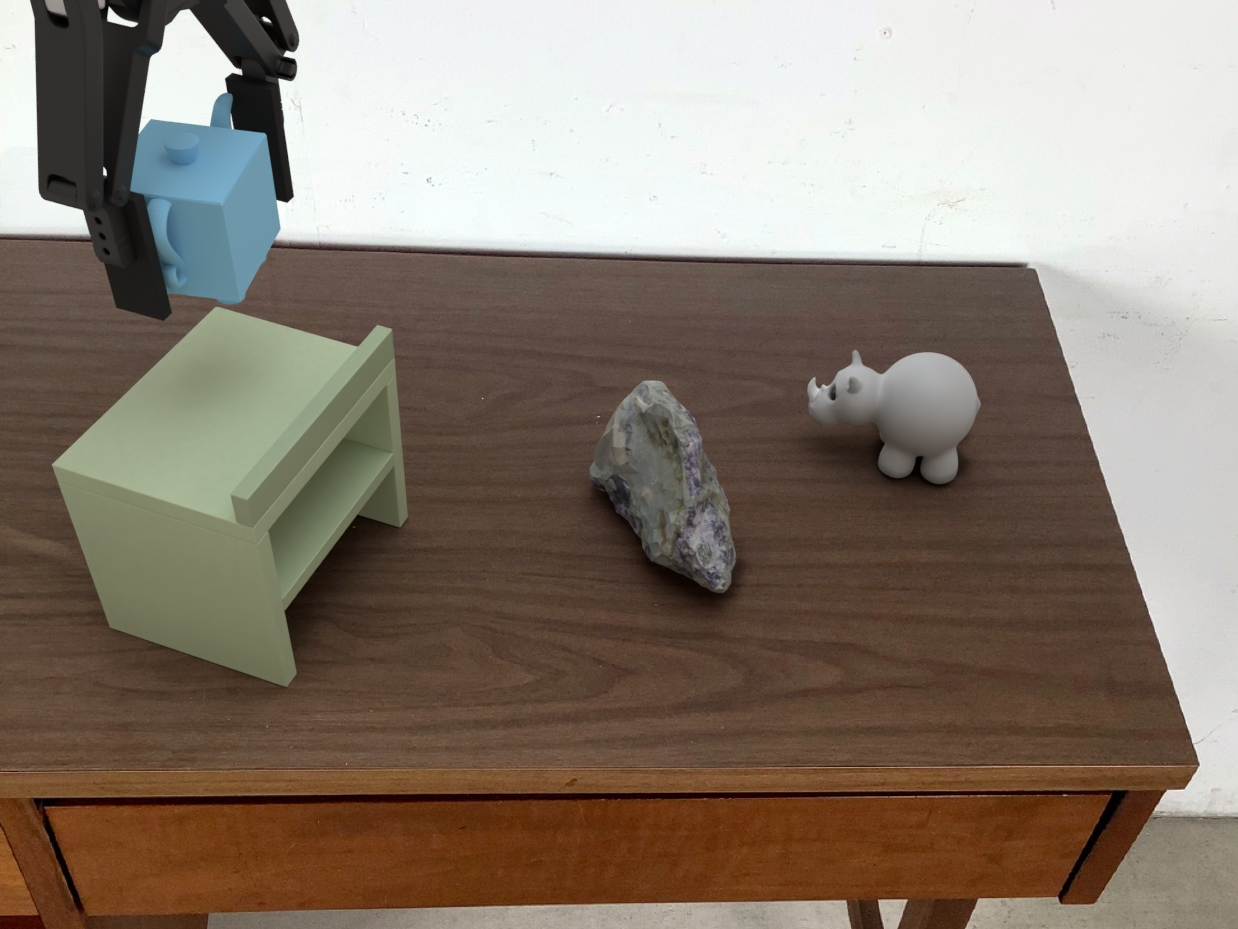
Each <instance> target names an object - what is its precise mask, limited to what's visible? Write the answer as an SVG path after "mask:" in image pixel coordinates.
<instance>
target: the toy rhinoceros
mask: <svg viewBox="0 0 1238 929" xmlns="http://www.w3.org/2000/svg"><path fill="white" fill-rule="evenodd" d="M816 379H817V378H816V376H814V377H813V378H812V379H811V380H810V381H809V383H808V385H807V388H806V389H807V390H806V392H807V396H808V405H807V410H808V414H809V416H810V418H811V419H812V421H813V422H814V423H816V424H817V425H819V426H821V427H834V426H836V425H839V424H846V425H849V426H852V427H853V426H855V427H860V426H864V425H868V424H873V425H875V426H876V428H877V429H878V431H879V437H880V438H879V439H880V440H881V441H882V443H883V444H884V445H883V446H882V449H881V451H880V453H879V456H878V459H877V466H878V468H879V471H881V472H882V473H883V474H884V475H886V476H887V477H890V478H893V479H902V478H905V477H908V476H909V475H910V474H911V473H912V472H913V470H914V467H915V465H916V459H917V457H922V459H921V461H920V474H921V476H922V477H923V478H924V480H926V481H928V482H929V483H931V484H935V485H943V484H947V483H949V482H951V481H953V480H954V479H955V477H956V475H957V473H958V470H959V455H958V451H957V447H958V445H959V443H960V442H962V441H963V440H964V439H965V438H966V436H967V435H968V434H969V432H970V431H971V429H972V427H973V425H974V423H975V420H976V417H977V414H978V412H979V411H980V409H981V405H982V404H981V399H980V398H979V396H978V392H977V388H976V385H975V382H974V380H973V378H972V377H971V375H970V373H969V371H968V370H967V369H966V368H965V367H964V366H963V365H962V364H961V363H960V362H958V361H957V360H955V359H954V358H952V357H950V356H948V355H945V354H942V353H938V352H932V351H931V352H930V351H928V352H926V351H924V352H917V353H913V354H909V355H907V356H904V357H902V358H901V359H899V360H898V361H896V362H895V363H893V364H892V365H891V366H889V368H888V369H887V370H886V371H885V372H884V373H878V372H876V371H875V370H874V369H872V368H871V367H869V366H865V365H864V364H863V362H862V358H861V354H860V352H859V351H858V350H856V349H855V350H853V351H852V353H851V364H850V365H848V366H847V367H844V368H843V369H840V370H839V371H838V372H837V373H836V375H835V377H834V379H833V380H832V381H831V383H830V384H828V385H825V384H822V385H821V387H818V386H817V384H816Z"/></svg>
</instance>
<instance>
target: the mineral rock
mask: <svg viewBox="0 0 1238 929" xmlns="http://www.w3.org/2000/svg"><path fill="white" fill-rule="evenodd" d="M717 476H718V472H717V470H716V468H715V467H714V466H713V464H712V463H711V462H710V459H709V457H708V454H707V453H706V452H705V448H704V445H703V437H702V435H701V434H700V431H699V427H698V425H697V422H696V418H695V417H694V416H693V415H692V414H691V412H690V410H689V409H688V408H686V407H685V406H684V405H683V404H682V403H680V402H679V401H678V400H677V399H676V398H675V395H673V393H672V392H671V390H670V389H669V388H668V387H667V385H666V384H665V383H664V382H663V381H661V380H642V381H641V382H640V383H639V384H638V385H637V386H636V387H635V388H634V389H633V390H632V392H630V393H629V394H628V395H627V396H625V398H624V399H623V400H622V401H621V403H620V404H619V405H618V406H617V408H616V409H615V410H614V412H613V413H612V414H611V417H610V419H609V421H608V422H607V425H606V427H605V429H604V432H603V434H602V436H601V438H600V439H599V441H598V442H597V444H596V446H595V448H594V452H593V462H592V464H591V465H590V467H589V481H590V484H591V486H593V488H595V489H596V490H600V491H601V492H604V493H607V495H608V496H609V500H610V501H611V502H612V504H613V506H614V509H615V512H616V513H617V514H619V515H620V516H621V517H622V518H624V519H625V520H626V521H627V522H628V523H629V525H630V526H631V528H632V529H633V532H634V534H636V535H637V536H638V537H639V538H640V539H641V544H642V546H641V547H642V549H643V551H644V553H645V555H646V557H647V558H648V559H649V560H650V561H651V562H653V563H655V564H657V565H660V566H662V567H665V568H667V569H670V570H672V571H673V572H676V573H678V574H681V575H683V576H684V577H687V578H688V579H690V580H692V581H694V582H696V583H698V585H699V586H701V587H704V588H706V589H708V590H709V591H711V592H714V593H716V594H724V593H725V592H726V591H728V588H730V586H731V584H732V578H733V577H732V571H733V570H734V567H735V565H736V562H737V552H736V548H735V543H734V541H733V538H732V537H733V536H732V533H731V532H732V531H731V524H730V512H731V507H730V505H729V501H728V497H727V496H726V493H725V491H724V488H723V487H722V486H721V485H720V484H719V483H720V482H719V480H718V477H717Z"/></svg>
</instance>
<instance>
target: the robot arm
mask: <svg viewBox="0 0 1238 929" xmlns="http://www.w3.org/2000/svg"><path fill="white" fill-rule="evenodd" d="M29 2H30V7H31V10H32V14H33V19H34V20H33V21H34V58H35V59H34V61H35V101H36V102H35V104H36V105H35V107H36V108H35V109H36V144H37V145H36V146H37V147H36V148H37V186H38V193H39V195H40V197H41V199H43V200H44V201H47V202H51V203H55V204H57V205H61V206H65V207H69V208H73V209H76V210H80V211H82V212H83V216H84V220H85V224H86V227H87V231H88V235H89V236H90V240H91V243H92V247H93V251H94V255H95V256H96V258H97V259H98V260H99V262H100V263H103V265H104V268H105V272H106V275H107V279H108V282H109V283H108V284H109V286H110V290H111V295H112V298H113V301H114V304H115V308H116V309H119V310H122V311H126V312H129V313H133V314H135V315H137V314H138V315H140V316H144V317H148V318H151V319H155V320H158V321H161V322H164V321H165V320H166V319H168V318H169V317H170V316H171V315H172V314H173V311H172V306H171V303H170V298H169V294H167V290H166V286H165V281H164V277H163V273H162V269H161V265H160V260H159V256H158V252H157V248H156V244H155V239H154V235H153V231H152V227H151V223H150V219H149V214H148V210H147V206H146V202H145V198H144V194H140V193H136V192H132V191H130V188H131V181H132V175H133V168H134V161H135V155H136V148H137V142H138V135H139V133H140V127H141V121H142V114H143V109H144V108H143V107H144V102H145V101H144V100H145V96H146V95H145V94H146V89H147V82H148V75H149V67H150V62H151V59H152V56H154V55H156V54H158V53H159V52H160V51H161V50H162V47H163V44H164V36H165V30H166V26H168V25H169V24H171V23H172V22H173V21H175V20H174V19H175V18H176V17H177V16H178V15H179V13H180V12H182V11H186V10H189V11H190V12H191V13H192V15H193V16H194V17H195V19H196V20H197V21H198V23H200V25H201V27H203V29H204V30H205V31H206V32H207V34H208V35H209V36H210V38H211V39H212V40H213V42H215V44H216V46H217V47H218V48H219V49H220V51H221V52H222V53H223V54H224V56H225V57H226V58H227V60H228V61H229V62H230V63H231V64H232V66H233V67H234V68H235V69H237V70H241V74H239V73H236V72H231V73H230V74H228V75H227V76H226V77H224V83H225V88H226V93H229V94H232V96H233V101H232V107H231V124H232V129H235V130H242V131H250V132H258V133H265V134H266V136H267V142H268V149H269V155H270V162H271V168H272V175H273V181H274V188H275V194H276V201H278V202H283V203H286V204H288V203H289V202H290V201H291V200H292V199H293V198H295V193H294V187H293V180H292V174H291V164H290V159H289V158H290V157H289V152H288V144H287V137H286V130H285V116H284V109H283V102H282V94H281V88H280V87H281V86H280V80H283V81H287V82H293V81H294V80H295V79H296V76H297V74H298V63H297V60H296V58H294V57H289V56H285V54H286V52H290V53H295V52H296V51H297V50H298V48H299V46H300V34H299V30H298V27H297V25H296V23H295V20H294V18H293V15H292V12H291V10H290V7H289V4H288V2H287V0H29ZM109 9H110V10H111V11H112V12H113V13H114V14H115V15H116V16H117V17H119V18H120V19H122V20H124V21H127V22H131V23H135V24H136V25H134V26H129V25H125V24H120V23H117V22H113V21H109V20H108V15H109ZM264 18H266V19H267V20H269V21H266V20H264ZM104 169H105V171H106V172H105V173H106V175H105V174H104Z"/></svg>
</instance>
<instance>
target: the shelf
mask: <svg viewBox="0 0 1238 929" xmlns="http://www.w3.org/2000/svg"><path fill="white" fill-rule="evenodd" d="M393 334H394V333H393V329H392V328H390V327H386V326H382V325H379V324H377V325H376V326H374V328H373V329H372V330H371V332H369V334H368V335H367V336H366V337H365V338H364V340H362V342H361V343H360V344H359V345H358V346H356V345H353V344H349V343H346V342H342V341H339V340H334V339H331V338H327V337H324V336H321V335H318V334H314V333H311V332H308V331H303V330H300V329H297V328H292V327H289V326H287V325H283V324H279V323H277V322H276V323H275V322H272V321H270V320H269V321H268V320H265V319H261V318H258V317H254V316H251V315H247V314H243V313H241V312H237V311H234V310H230V309H226V308H223V307H220V306H215V307H214V308H212V309H211V310H210V312H208V313H207V314H206V315H205V316H204V317H203V318H202V319H201V320H200V321H199V322H198V323H197V324H196V325H195V326H194V327H193V328H192V329H191V330H190V331H189V332H188V333H187V334H186V335H185V336H184V337H182V338H181V340H179V341H178V343H176V344H175V345H174V346H173V347H172V348H171V349H170V350H169V351H168V352H167V353H166V354H165V355H164V356H163V357H162V358H161V359H160V360H159V361H158V362H156V364H154V366H152V367H151V369H149V370H148V372H146V373H145V374H144V375H143V376H142V377H141V378H140V379H139V380H138V381H137V382H136V383H135V384H133V385H132V386H131V387H130V389H128V390H127V392H126V393H125V394H123V395H122V396H121V397H120V398H119V399H118V400H117V401H116V402H115V403H114V404H113V405H112V406H111V407H110V408H109V409H108V410H107V411H106V412H105V413H104V414H103V415H101V416H100V417H99V418H98V419H97V420H96V422H94V423H93V424H92V425H91V426H90V427H89V428H88V429H87V430H86V431H85V432H84V433H83V434H82V435H81V436H80V437H79V438H77V439H76V441H75V442H74V443H72V444H71V445H70V446H69V447H68V448H67V449H66V450H65V451H64V452H63V453H62V454H61V455H60V456H59V457H58V458H57V459H56V460H55V461H54V462H53V463H52V464H51V466H52V469H53V472H54V475H55V478H56V481H57V484H58V486H59V490H60V492H61V495H62V497H63V501H64V504H65V506H66V509H67V512H68V514H69V517H70V520H71V523H72V526H73V528H74V532H75V534H76V536H77V537H76V538H77V540H78V542H79V545H80V548H81V551H82V553H83V556H84V559H85V562H86V564H87V567H88V570H89V573H90V576H91V579H92V580H93V582H92V583H93V584H94V587H95V590H96V593H97V595H98V598H99V601H100V604H101V607H102V609H103V612H104V614H105V618H106V621H107V623H108V626H109V628H110V629H113V630H115V631H119V632H122V633H124V634H127V635H131V636H133V637H136V638H139V639H142V640H145V641H149V642H152V643H153V644H157V645H160V646H163V647H166V648H169V649H172V650H175V651H177V652H181V653H184V654H187V655H188V656H189V655H190V656H193V657H196V658H198V659H202V660H204V661H207V662H210V663H212V664H213V663H214V664H216V665H218V666H221V667H224V668H228V669H231V670H235V671H237V672H240V673H243V674H246V675H249V676H251V677H254V678H258V679H260V680H264V681H267V682H269V683H273V684H276V685H279V686H281V687H284V688H288V687H289V685H290V684H291V683H292V681H293V680H294V679H295V677H296V676H297V674H298V673H297V672H298V671H297V667H296V661H295V657H294V652H293V647H292V641H291V638H290V632H289V628H288V627H289V626H288V622H287V617H286V613H285V612H286V610H287V609H288V607H289V606H290V605H291V603H292V602H293V601H294V599H295V598H296V597H297V595H298V594H299V593H300V592H301V591H302V589H303V587H305V585H306V584H307V582H308V581H309V579H310V578H311V577H312V576H313V574H315V571H317V568H318V567H319V566H320V565H321V564H322V562H323V561H324V560H325V558H326V557H327V556H328V555H329V553H330V551H331V550H332V549H333V548H334V546H335V545H336V543H338V541H339V539H340V538H342V536H343V534H344V533H345V531H346V530H347V529H348V528H349V527H350V525H351V523H353V521H354V519H355V518H356V517H357V516H361V517H364V518H368V519H370V520H374V521H377V522H380V523H384V524H387V525H390V526H394V527H396V528H402V526H403V525H404V523H405V522H406V521H407V519H408V518H409V513H408V512H409V511H408V501H407V488H406V477H405V468H404V466H405V464H404V454H403V442H402V431H401V430H402V429H401V418H400V407H399V405H400V404H399V397H398V394H399V392H398V381H397V374H396V373H397V372H396V370H397V369H396V359H395V346H394V335H393Z"/></svg>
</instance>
